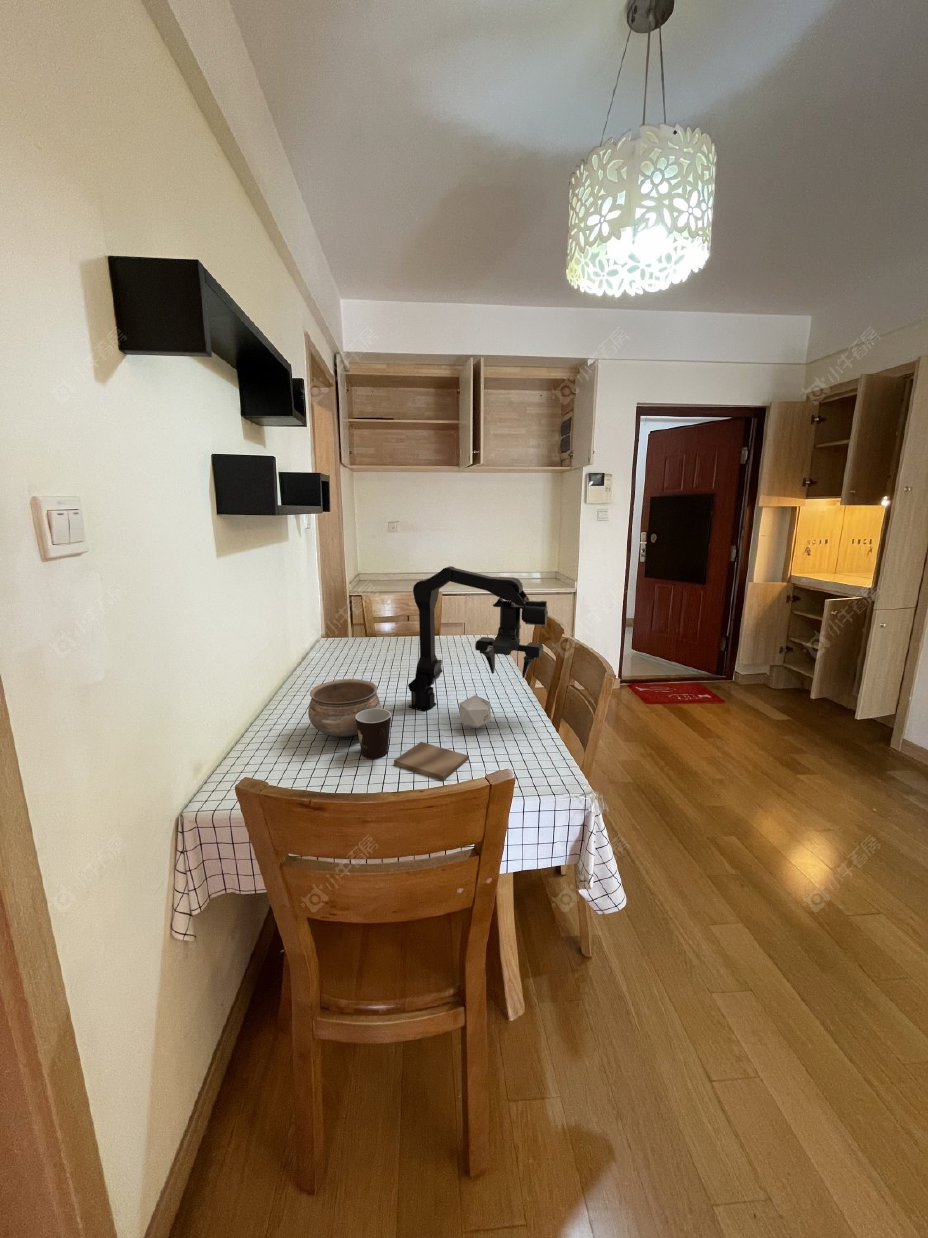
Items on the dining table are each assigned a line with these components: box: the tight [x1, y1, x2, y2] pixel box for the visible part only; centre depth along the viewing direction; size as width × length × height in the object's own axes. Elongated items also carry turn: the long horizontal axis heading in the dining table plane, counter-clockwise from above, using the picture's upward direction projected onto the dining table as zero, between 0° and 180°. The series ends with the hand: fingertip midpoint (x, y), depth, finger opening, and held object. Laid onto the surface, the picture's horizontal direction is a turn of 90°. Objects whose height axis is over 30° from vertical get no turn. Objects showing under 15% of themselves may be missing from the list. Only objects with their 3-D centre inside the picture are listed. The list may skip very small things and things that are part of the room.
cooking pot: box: [307, 678, 382, 739], centre depth 130 cm, size 25×19×12 cm
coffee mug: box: [355, 708, 392, 760], centre depth 118 cm, size 12×9×10 cm
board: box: [393, 741, 469, 782], centre depth 116 cm, size 14×11×1 cm
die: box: [458, 694, 492, 730], centre depth 133 cm, size 8×9×10 cm
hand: (508, 675), depth 139 cm, fingers open, 9 cm apart
